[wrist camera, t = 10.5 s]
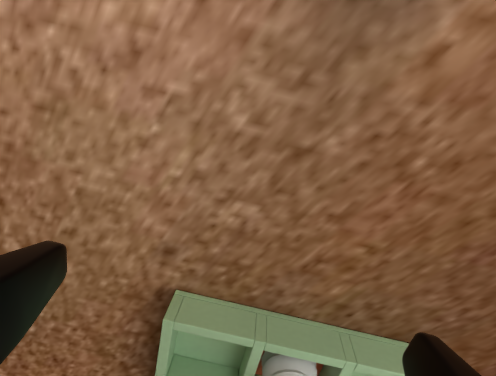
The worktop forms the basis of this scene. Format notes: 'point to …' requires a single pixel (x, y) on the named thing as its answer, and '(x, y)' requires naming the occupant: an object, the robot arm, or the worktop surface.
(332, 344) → the grid
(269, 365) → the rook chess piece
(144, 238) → the worktop surface
